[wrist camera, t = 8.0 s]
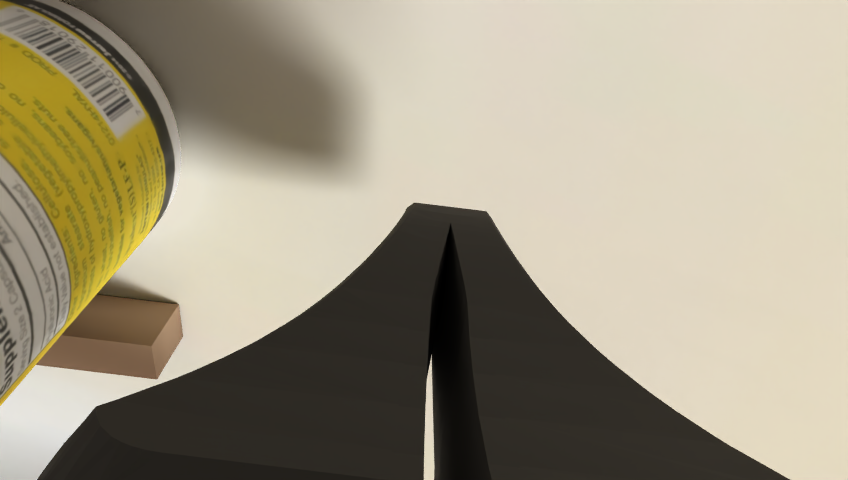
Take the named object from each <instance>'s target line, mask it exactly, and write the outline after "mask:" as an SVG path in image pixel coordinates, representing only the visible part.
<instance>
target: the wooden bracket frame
mask: <svg viewBox="0 0 848 480" xmlns="http://www.w3.org/2000/svg"><path fill="white" fill-rule="evenodd" d="M182 337H183V333H182V325H181V318H180V310H179V304H170V303H162V302H154V301H145V300H137V299H129V298H121V297H112V296H104V295H95V297H94V298H93V299H92V300H91V301H90V302H89V303H88V305H87V306H86V307H85V308H84V309H83V310H82V312H81V313H80V314H79V315H78V316H77V317H76V319H75V320H74V321H73V322H72V323H71V324H70V325H69V327H68V328H67V329H66V330H65V331H64V332H63V334H62V335H61V336H60V337H59V338H58V339H57V341H56V342H55V343H54V344H53V345H52V346H51V348H50V349H49V350H48V351H47V352H46V353H45V355H44V356H43V357H42V358H41V359H40V360H39V361H38V363H37V364H36V365H42V366H51V367H59V368H67V369H76V370H84V371H92V372H100V373H109V374H117V375H125V376H134V377H142V378H150V379H158V377H159V375H160V374H161V372H162V370H163V369H164V367H165V365H166V364H167V362H168V360H169V359H170V357H171V355H172V354H173V352H174V350H175V349H176V347H177V345H178V344H179V342H180V340H181V339H182Z"/></svg>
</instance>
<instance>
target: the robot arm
mask: <svg viewBox="0 0 848 480" xmlns="http://www.w3.org/2000/svg"><path fill="white" fill-rule="evenodd" d="M431 355H432V385H433V424H434V462H435V473H434V480H790V479H788V478H786V477H784V476H783V475H781V474H779V473H777V472H775V471H774V470H772V469H770V468H768V467H767V466H765V465H763V464H761V463H759V462H758V461H756V460H754V459H752V458H751V457H749V456H747V455H745V454H744V453H742V452H740V451H738V450H736V449H735V448H733V447H731V446H729V445H728V444H726V443H724V442H723V441H721V440H719V439H718V438H716V437H715V436H713V435H712V434H710V433H709V432H707V431H706V430H704V429H702V428H701V427H699V426H698V425H696V424H695V423H693V422H692V421H690V420H689V419H687V418H686V417H684V416H683V415H681V414H680V413H678V412H677V411H675V410H674V409H672V408H671V407H669V406H668V405H667V404H665V403H664V402H662V401H661V400H660V399H658V398H657V397H655V396H654V395H653V394H651V393H650V392H648V391H647V390H646V389H645V388H643V387H642V386H641V385H639V384H638V383H637V382H636V381H634V380H633V379H632V378H631V377H629V376H628V375H627V374H626V373H624V372H623V371H622V370H621V369H619V368H618V367H617V366H615V365H614V364H613V363H612V362H611V361H610V360H608V359H607V358H606V357H605V356H604V355H603V354H601V353H600V352H599V351H598V350H597V349H596V348H595V347H594V346H593V345H592V344H590V343H589V342H588V341H587V340H586V339H585V338H584V337H583V336H582V335H581V334H580V333H579V332H578V331H577V330H576V329H575V328H574V327H573V326H572V325H571V324H570V323H569V322H568V321H567V320H566V319H565V318H564V317H563V316H562V315H561V314H560V313H559V312H558V311H557V310H556V308H555V307H554V306H553V305H552V304H551V303H550V301H549V300H548V299H547V298H546V297H545V296H544V294H543V293H542V292H541V291H540V290H539V288H538V287H537V286H536V285H535V283H534V282H533V281H532V279H531V278H530V276H529V275H528V274H527V272H526V271H525V270H524V268H523V267H522V265H521V264H520V263H519V261H518V260H517V258H516V257H515V255H514V254H513V252H512V251H511V249H510V248H509V246H508V245H507V243H506V242H505V240H504V238H503V237H502V235H501V234H500V232H499V230H498V229H497V227H496V225H495V223H494V222H493V220H492V218H491V217H490V216H489V214H488V213H487V212H486V211H479V210H471V209H462V208H454V207H446V206H438V205H430V204H421V203H413V204H412V205H410V206H409V207H408V208H407V209H406V211H405V213H404V214H403V216H402V217H401V219H400V220H399V222H398V223H397V225H396V226H395V227H394V228H393V230H392V231H391V232H390V233H389V235H388V236H387V237H386V238H385V239H384V240H383V242H382V243H381V244H380V245H379V246H378V247H377V248H376V249H375V250H374V252H373V253H372V254H371V255H370V256H369V257H368V258H367V259H366V260H365V261H364V262H363V263H362V264H361V265H360V266H359V267H358V268H357V269H356V270H354V271H353V272H352V273H351V274H350V275H349V276H348V277H347V278H346V279H345V280H344V281H343V282H342V283H340V284H339V285H338V286H337V287H336V288H335V289H333V290H332V291H331V292H330V293H328V294H327V295H326V296H325V297H323V298H322V299H321V300H320V301H318V302H317V303H316V304H314V305H313V306H311V307H310V308H309V309H307V310H306V311H305V312H303V313H302V314H300V315H299V316H297V317H296V318H294V319H293V320H291V321H289V322H288V323H286V324H285V325H283V326H281V327H280V328H278V329H276V330H275V331H273V332H271V333H270V334H268V335H266V336H264V337H263V338H261V339H259V340H258V341H256V342H254V343H252V344H250V345H248V346H246V347H244V348H242V349H240V350H238V351H236V352H234V353H232V354H230V355H228V356H226V357H224V358H222V359H219V360H217V361H215V362H213V363H210V364H208V365H206V366H204V367H202V368H199V369H197V370H195V371H192V372H190V373H187V374H185V375H183V376H180V377H178V378H175V379H172V380H170V381H167V382H164V383H161V384H159V385H156V386H153V387H150V388H148V389H145V390H142V391H139V392H137V393H134V394H131V395H128V396H126V397H123V398H120V399H117V400H115V401H111V402H108V403H105V404H102V405H99V406H96V407H95V408H94V409H93V411H92V412H91V413H90V414H89V416H88V417H87V418H86V419H85V421H84V422H83V423H82V424H81V425H80V426H79V427H78V428H77V430H76V431H75V432H74V433H73V434H72V435H71V436H70V437H69V439H68V440H67V441H66V442H65V443H64V444H63V446H62V447H61V448H60V450H59V451H58V452H57V453H56V455H55V456H54V457H53V459H52V460H51V461H50V462H49V464H48V465H47V466H46V468H45V469H44V471H43V472H42V473H41V475H40V476H39V478H38V479H37V480H424V434H425V403H426V381H427V375H428V370H429V365H430V360H431Z"/></svg>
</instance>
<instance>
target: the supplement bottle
mask: <svg viewBox="0 0 848 480" xmlns="http://www.w3.org/2000/svg"><path fill="white" fill-rule="evenodd" d="M180 170H181V144H180V138H179V132H178V128H177V124H176V120H175V117H174V115H173V112H172V109H171V106H170V104H169V102H168V99H167V97H166V95H165V93H164V92H163V90H162V88H161V86H160V84H159V83H158V81H157V80H156V78H155V77H154V75H153V74H152V72H151V71H150V70H149V68H148V67H147V66H146V64H145V63H144V62H143V61H142V59H141V58H140V57H139V56H138V55H137V54H136V53H135V52H134V51H133V50H132V49H131V48H130V46H129V45H127V44H126V43H125V42H124V41H123V40H122V39H121V38H119V37H118V36H117V35H116V34H115V33H114V32H113V31H111V30H110V29H109V28H107V27H106V26H105V25H104V24H102V23H101V22H100V21H98V20H96V19H95V18H93V17H91V16H90V15H88V14H87V13H85V12H83V11H82V10H80V9H77V8H75V7H73V6H71V5H69V4H67V3H64V2H62V1H59V0H0V406H1V405H2V403H3V402H4V401H5V400H6V399H7V398H8V396H9V395H10V394H11V393H12V392H13V391H14V389H15V388H16V387H17V386H18V385H19V384H20V382H21V381H22V380H23V379H24V378H25V377H26V375H27V374H28V373H29V372H30V371H31V370H32V368H33V367H34V366H35V365H36V364H37V363H38V361H39V360H40V359H41V358H42V357H43V356H44V355H45V353H46V352H47V351H48V350H49V349H50V348H51V346H52V345H53V344H54V343H55V342H56V341H57V339H58V338H59V337H60V336H61V335H62V334H63V332H64V331H65V330H66V329H67V328H68V327H69V325H70V324H71V323H72V322H73V321H74V320H75V319H76V317H77V316H78V315H79V314H80V313H81V312H82V310H83V309H84V308H85V307H86V306H87V305H88V303H89V302H90V301H91V300H92V299H93V298H94V297H95V295H96V294H97V293H98V292H99V291H100V290H101V288H102V287H103V286H104V285H105V284H106V283H107V282H108V280H109V279H110V278H111V277H112V276H113V275H114V273H115V272H116V271H117V270H118V269H119V268H120V267H121V265H122V264H123V263H124V262H125V261H126V260H127V258H128V257H129V256H130V255H131V254H132V253H133V251H134V250H135V249H136V248H137V247H138V246H139V245H140V244H141V242H142V241H143V240H144V239H145V237H146V236H147V234H148V233H149V232H150V231H151V230H152V229H153V227H154V226H155V225H156V224H157V222H158V221H159V220H160V218H161V217H162V216H163V214H164V213H165V212H166V210H167V208H168V207H169V205H170V203H171V201H172V199H173V197H174V195H175V192H176V189H177V186H178V182H179V177H180Z"/></svg>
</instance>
